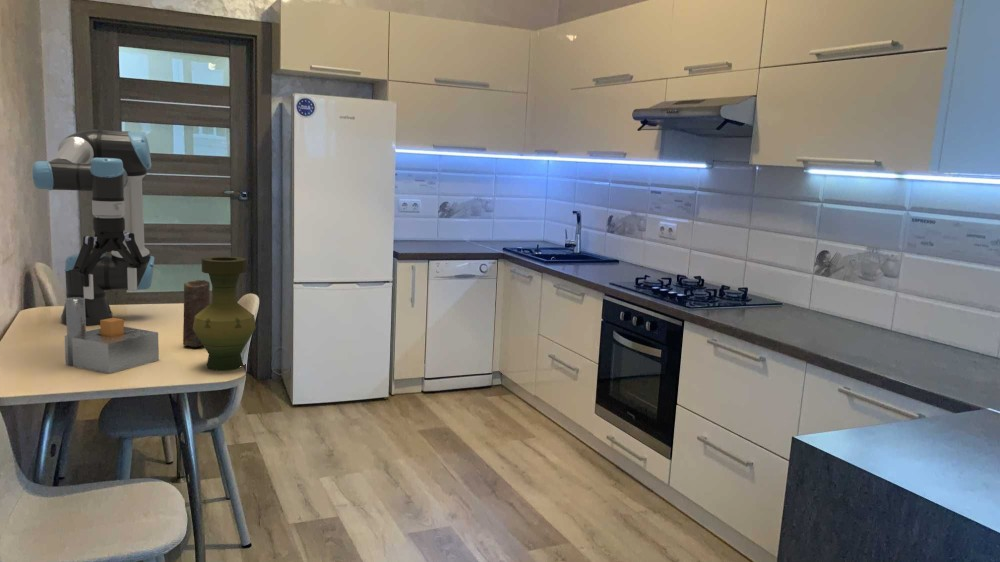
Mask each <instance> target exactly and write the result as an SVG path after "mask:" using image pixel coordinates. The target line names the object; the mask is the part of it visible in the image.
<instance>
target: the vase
mask: <svg viewBox="0 0 1000 562" xmlns="http://www.w3.org/2000/svg"><path fill="white" fill-rule="evenodd" d="M201 272H202V273H203V274H208V276H209V280H210V284H211V294H212V295H211V299H212V300H211V303H209V305H208V306H207V307H205V308H204V309H203V310H202V311H200V312H199V313H198V314H196V315H195V316H194V322H193V330H194V332H195V333H196V335H197V336H198V338H199V340H200V341H201V343H202V344H203V345H202V347H203V348H204V349H205V350H206V352H207V355H208V357H207V362H206V366H207V367H206V368H207V369H208V370H211V371H221V372H222V371H223V372H224V371H226V372H227V371H234V370H237V368H238V369H240V368H239V367H240V366H242V367H243V366H244V364H243V363H244V362H243V359H242V358H243V357H242V355H241V354H242V351H243V350H244V348H245V347H246V345H247V343H248V342H249V340H250V339H251V337H252V335H253V334H254V332H255V331H256V329H257V326H256V319H255V315H254V314H253V313H252V312H250V311H249V310H248V309H246V308H245V307H244V306H242V305H241V304H240V303H238V302H237V297H238V295H237V286H238V281H239V278H240V274H245V273H246V272H247V259H246V258H244V257H239V256H226V255H225V256H223V255H222V256H209V257H208V256H206V257H203V258H201Z"/></svg>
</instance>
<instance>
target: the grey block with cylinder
mask: <svg viewBox="0 0 1000 562" xmlns="http://www.w3.org/2000/svg"><path fill="white" fill-rule="evenodd" d="M65 303H66V321H67V324H66V335H63V337H64V354H65V357H64V359H65V366H69V367H74V368H78V367H79V368H80V369H83V368H84V370H89V371H93V372H97V373H98V372H100V373H102V374H103V373H104V374H108V375H109V374H113V373H118V372H120V371H124V370H129V369H131V368H136V367H138V366H143V365H146V364H149V363H153V362H157V361H159V360H160V356H159V354H160V353H159V332H158V331H152V330H145V329H140V328H136V327H135V328H133V327H129V326H124V335H121V336H116V337H112V338H110V337H104V336H101V331H100V328H97V329H92V330H87V325H86V318H85V298H82V297H73V298H67V297H66V298H65Z"/></svg>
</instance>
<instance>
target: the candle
mask: <svg viewBox="0 0 1000 562" xmlns="http://www.w3.org/2000/svg"><path fill="white" fill-rule="evenodd" d="M210 284H211V282H210V281H208V280H204V279H203V280H202V279H194V280H190V281H187V282H184V283H183V325H182V327H183V329H182V331H183V332H182V343H183V346H187V347H190V348H199V347H201V346H203V344H202V343H201V341H200V340H199V338H198V336H197V335H196V333H195V332H194V330H193V322H194V316H195V315H196V314H198V313H199V312H200V311H202V310H203V309H204V308H205V307H207V306H208V305H209V304H210V288H211V287H210V286H211V285H210Z"/></svg>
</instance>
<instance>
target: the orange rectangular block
mask: <svg viewBox="0 0 1000 562" xmlns="http://www.w3.org/2000/svg"><path fill="white" fill-rule="evenodd" d="M99 327H100V328H99V329H100V331H101V336H104V337H110V338H112V337H116V336H121V335H124V327H125V322H124V319H122V318H118V317H113V318H109V319H104V320H100V324H99Z"/></svg>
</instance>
